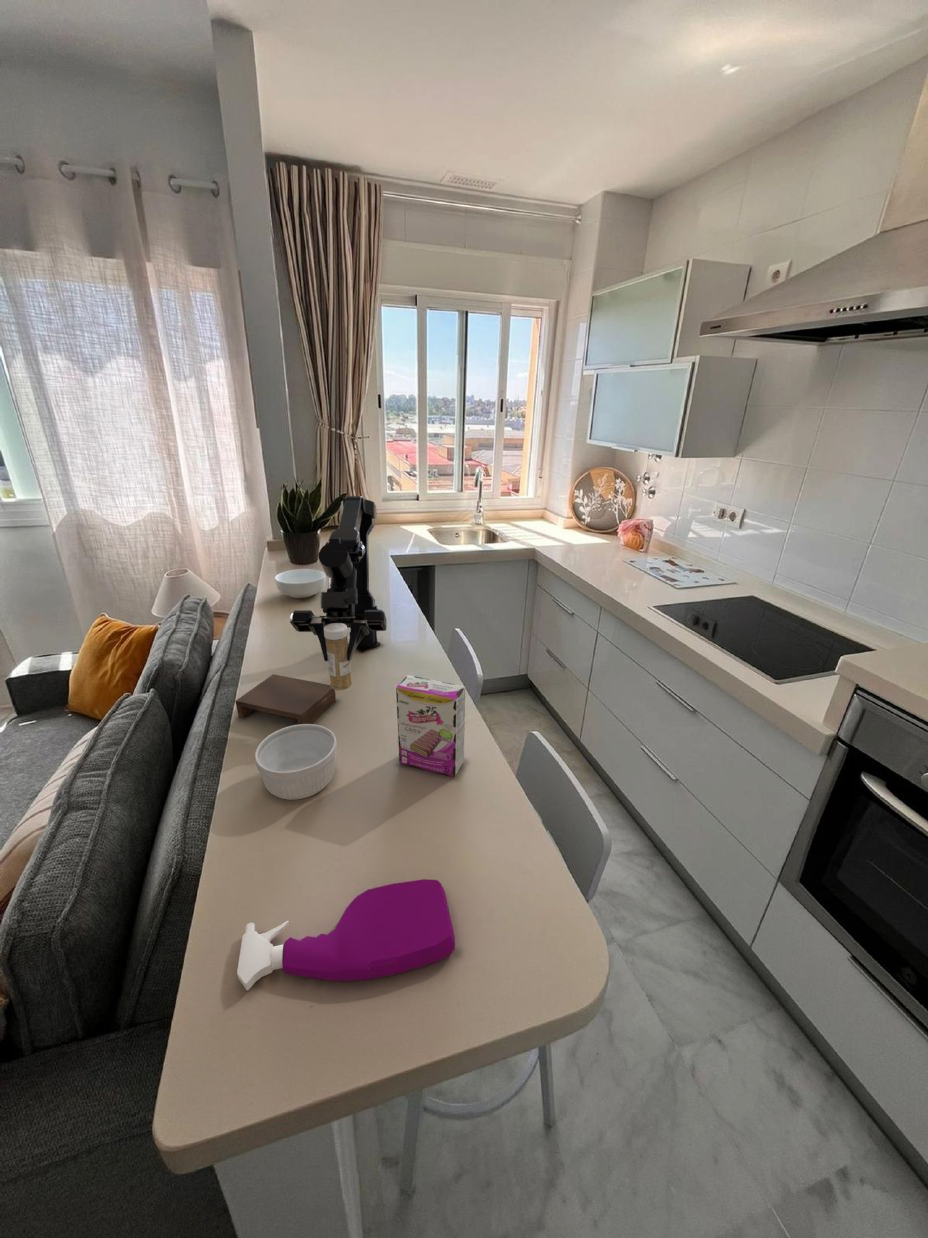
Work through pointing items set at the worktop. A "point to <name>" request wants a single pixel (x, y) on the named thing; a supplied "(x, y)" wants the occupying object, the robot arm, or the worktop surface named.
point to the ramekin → (297, 760)
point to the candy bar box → (431, 724)
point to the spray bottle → (361, 938)
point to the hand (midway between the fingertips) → (337, 660)
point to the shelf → (288, 699)
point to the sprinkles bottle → (338, 655)
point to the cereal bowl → (300, 582)
